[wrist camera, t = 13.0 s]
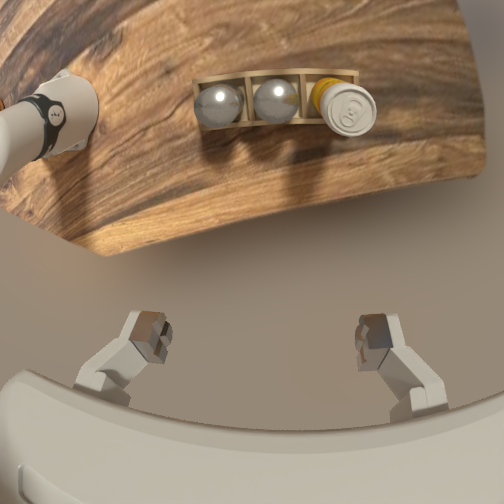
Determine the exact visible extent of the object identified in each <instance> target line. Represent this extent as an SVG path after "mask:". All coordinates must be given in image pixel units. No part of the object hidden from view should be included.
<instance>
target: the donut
mask: <svg viewBox="0 0 504 504" xmlns="http://www.w3.org/2000/svg"><path fill="white" fill-rule="evenodd" d="M2 110H4V106H3V103H2V101H1V99H0V111H2Z"/></svg>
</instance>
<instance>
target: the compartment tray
mask: <svg viewBox="0 0 504 504" xmlns="http://www.w3.org/2000/svg"><path fill="white" fill-rule="evenodd" d="M273 78H281V79H284V80H287V81H288V82H290V83H291V84H292V85H293V86H294V88H295V90H296V92H297V94H298V97H299V109H298V111H297V113H296V114H295V116H294V117H293V118H292V119H290V120H288V121H286V122H284V123H270V122H267V121H265V120H263V119H262V118H261V117H259V116H258V114H257V113H256V111H255V109H254V107H253V96H254V94H255V92H256V90H257V89H258V88H259V87H260V86H261V85H262V84H263V83H264V82H265V81H267V80H269V79H273ZM323 78H336V79H339V80H342V81H345V82H348V83H351V84H354V85H357V86H359V71H354V70H341V69H274V70H260V71H248V72H239V73H231V74H223V75H216V76H210V77H204V78H198V79H194V80H192V83H193V89H194V95H195V100H196V98H197V96H198V95H199V94H200V93H201V92H202V91H203V90H205V89H207V88H210V87H212V86H215V85H218V84H221V83H231V84H234V85H236V86H238V87H239V88H240V89H241V90H242V92H243V94H244V97H245V104H244V107H243V109H242V111H241V112H240V113H239V114H238V115H237V117H236V118H235V119H234V120H233V121H232V122H231V123H230V124H229V125H227V126H225V127H222V128H210V127H207V126H205V125H203V124H202V123H201V122H200V121H199V124H200V130H201V131H208V130H216V129H225V128H235V127H246V126H260V125H279V124H327V123H326V122H325V120H324V119H323V117H322V116H321V114H320V113H319V111H318V110H317V109H316V107H315V106H314V104H313V102H312V99H311V91H312V88H313V86H314V85H315V83H316V82H318V81H319V80H321V79H323Z"/></svg>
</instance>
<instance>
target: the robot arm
mask: <svg viewBox="0 0 504 504" xmlns="http://www.w3.org/2000/svg"><path fill="white" fill-rule="evenodd" d="M97 117H98V99H97V95H96V92H95V90H94V88H93V87H92V85H91V84H90V83H89V82H88V81H87V80H86V79H84V78H82V77H79V76H76V75H74V74H73V73H72V72H71V71H70V70H69V69H63V70H61V71H60V72H59V73H58V74H57V75H55V76H54V77H53V78H52V79H51V80H50V81H48V82H46V83H43V84H41V85H40V87H39V88H38V89H37V90H36V91H35V92H34V93H33V95H29V96H27V97H25V98H24V99H21V100H19V101H18V102H17V103H16V104H15V105H13V106H11V107H8V108H6V109H4V110H2V111H0V190H1V189H2V187H3V186H4V185H5V183H6V182H7V181H8V180H9V179H10V178H11V177H12V176H13V175H14V174H15V173H17V172H18V171H19V170H20V169H21V168H23V167H24V166H25V165H27V164H28V163H29V162H32V161H36V160H38V159H39V158H42V157H43V158H44V159H45V158H48V157H51V156H56V155H58V154H60V153H62V152H64V151H72V150H82V149H84V148H85V147H86V146H87V142H88V136H89V134H90V133H91V131H92V130H93V128H94V126H95V124H96V121H97ZM77 144H78V145H77ZM165 320H166V316H165V314H164V313H160V312H150V311H142V310H133V311H131V312H130V314H129V317H128V319H127V321H126V323H125V325H124V327H123V329H122V332H121V334H120V336H119V338H115V339H114V340H113V341H112V342H111V343H109V344H108V345H107V346H106V347H104V348H103V349H102V350H101V351H99V352H98V353H97V354H96V355H94V356H93V357H92V358H91V359H90V360H89V361H87V362H86V363H85V364H83V365H82V367H81V370H80V372H79V374H78V377H77V379H76V381H75V384H74V386H73V388H70V387H68V386H66V385H63V384H61V383H58V382H56V381H54V380H52V379H49V378H47V377H45V376H43V375H41V374H39V373H37V372H35V371H33V370H30V369H24V370H22V371H20V372H19V373H18V374H16V375H15V376H14V377H13V378H11V379H10V380H9V381H7V383H6V384H5V385H4V387H3V388H2V390H1V392H0V504H504V391H502V392H499V393H497V394H494V395H492V396H489V397H486V398H484V399H481V400H478V401H475V402H472V403H469V404H466V405H463V406H460V407H457V408H453V409H450V410H449V408H448V402H447V397H446V392H445V388H444V383H443V381H442V380H441V379H440V378H439V377H438V376H437V374H436V373H435V372H434V371H433V370H432V369H431V368H430V367H429V366H428V365H427V364H426V363H425V362H424V361H423V360H422V359H421V358H420V357H419V356H418V355H417V354H416V353H415V352H414V351H413V350H412V349H411V348H410V347H409V346H406V345H405V341H404V337H403V333H402V329H401V326H400V322H399V318H398V315H397V314H396V313H387V314H383V313H382V314H369V315H361V316H360V318H359V326H357V328H356V332H355V347H356V349H357V350H358V351H359V353H358V356H357V363H358V371H373V370H378V373H379V374H380V375H381V377H382V378H383V379H384V381H385V382H386V384H387V385H388V386H389V388H390V389H391V390H392V392H393V393H394V394H395V396H396V397H397V399H398V400H399V402H398V403H397V404H396V405H395V406H394V407H393V408H392V409H391V411H390V423H386V424H379V425H371V426H364V427H354V428H342V429H328V430H264V429H248V428H236V427H227V426H219V425H211V424H204V423H198V422H191V421H186V420H180V419H175V418H170V417H165V416H161V415H156V414H152V413H148V412H144V411H140V410H136V409H133V408H129V407H128V405H129V402H130V399H131V397H130V395H129V394H128V393H126V392H125V391H124V390H123V389H124V388H125V387H126V386H127V385H128V384H129V382H130V381H131V380H132V379H133V378H134V377H135V376H136V375H137V374H138V373H139V372H140V371H141V370H142V369H143V368H144V367H145V365H147V363H148V362H151V363H159V364H164V363H165V359H166V356H167V353H168V351H167V348H166V347H167V346H168V345H169V344H170V343H171V341H172V333H173V332H172V327H171V325H170V324H169V323H168V322H167V321H165Z"/></svg>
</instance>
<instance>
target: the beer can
mask: <svg viewBox="0 0 504 504" xmlns="http://www.w3.org/2000/svg"><path fill="white" fill-rule="evenodd" d="M311 99H312V102H313V104H314V106H315V107H316V109H317V110H318V111H319V113H320V114H321V116H322V117H323V119H324V120H325V122H326V123H327V125H328V126H329V127H330V128H331V129H332V130H333V131H335V132H336V133H338V134H340V135H343V136H348V137H354V136H359V135H361V134H364V133H365V132H367V131H368V130H369V129H370V128H371V127H372V126H373V124H374V122H375V119H376V105H375V102H374V100H373V98H372V96H371V95H370V94H369V93H368V92H367V91H366V90H365V89H363V88H362V87H360V86H357V85H354V84H351V83H348V82H345V81H342V80H339V79H336V78H323V79H321V80H319V81H318V82H316V83H315V85H314V86H313V88H312V91H311Z"/></svg>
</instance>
